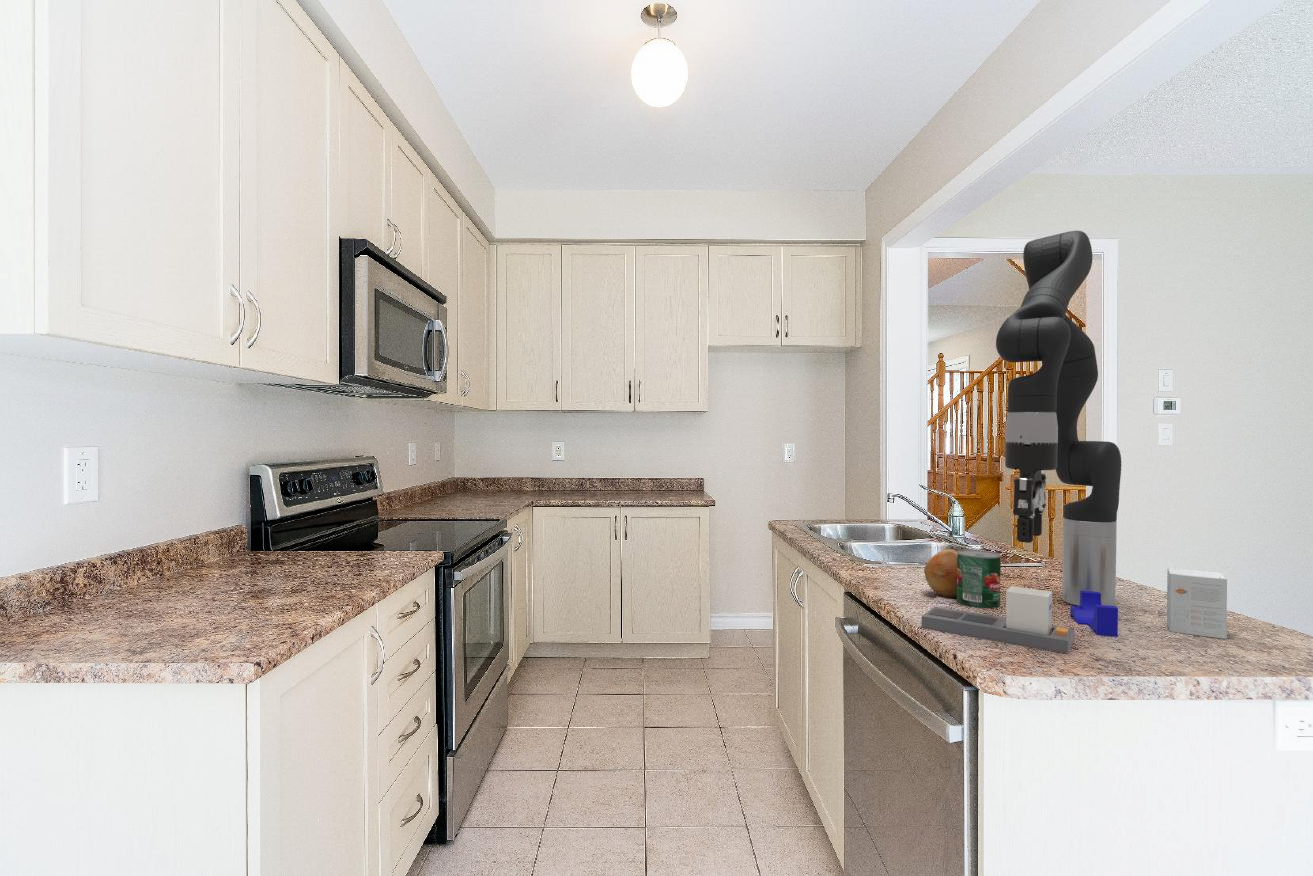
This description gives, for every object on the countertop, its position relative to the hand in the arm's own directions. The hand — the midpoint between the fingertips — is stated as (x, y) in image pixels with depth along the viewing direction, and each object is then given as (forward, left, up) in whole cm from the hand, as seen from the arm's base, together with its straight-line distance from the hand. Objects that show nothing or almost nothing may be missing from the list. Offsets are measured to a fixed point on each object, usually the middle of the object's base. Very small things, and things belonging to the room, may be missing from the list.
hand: (1029, 538), depth 111 cm
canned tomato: (-20, -12, -18) cm, 29 cm away
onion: (-26, -19, -18) cm, 37 cm away
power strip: (0, -5, -18) cm, 18 cm away
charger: (0, 0, -17) cm, 17 cm away
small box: (-27, +22, -18) cm, 39 cm away
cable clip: (-16, +8, -18) cm, 26 cm away
